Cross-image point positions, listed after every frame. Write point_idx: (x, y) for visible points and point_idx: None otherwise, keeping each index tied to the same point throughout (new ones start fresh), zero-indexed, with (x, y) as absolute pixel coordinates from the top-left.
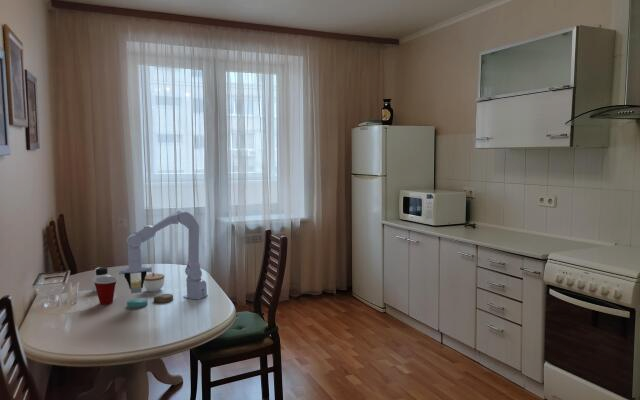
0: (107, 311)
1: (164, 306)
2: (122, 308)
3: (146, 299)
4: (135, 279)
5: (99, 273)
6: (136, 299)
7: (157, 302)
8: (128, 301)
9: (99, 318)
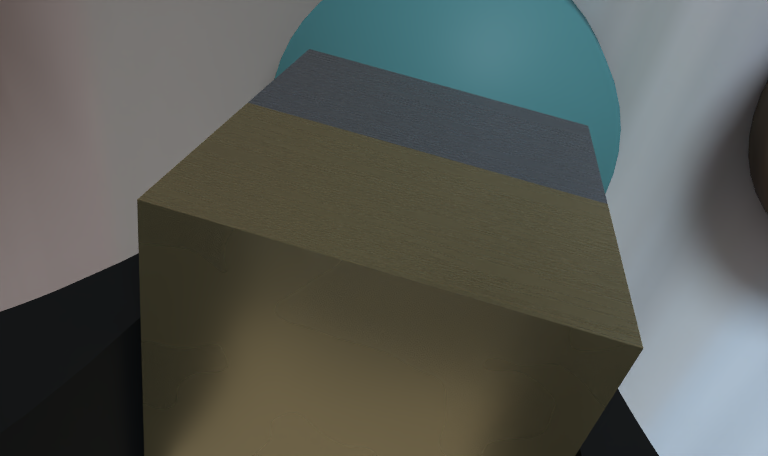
0: (46, 121)
1: (744, 388)
2: (227, 119)
3: (616, 140)
4: (332, 355)
5: None
6: (454, 15)
7: (764, 207)
8: (298, 53)
9: (12, 296)
